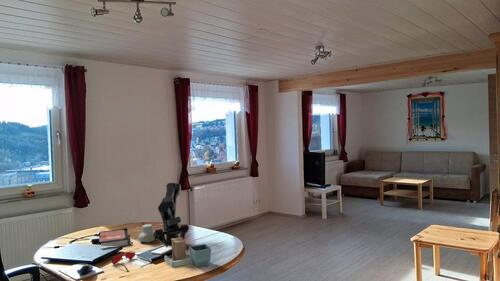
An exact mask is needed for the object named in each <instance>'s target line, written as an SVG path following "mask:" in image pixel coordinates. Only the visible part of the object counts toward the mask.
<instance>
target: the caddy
mask: <svg viewBox="0 0 500 281" xmlns="http://www.w3.org/2000/svg"><path fill="white" fill-rule="evenodd" d="M171 240H172V245H171V259H172V260H173V261H177V260H182V259H186V252H187V249H186V248H187V247H186V246H187V245H186V239H185V240H184V239H183V238H181V237H180V236H179V238H173V239H171Z"/></svg>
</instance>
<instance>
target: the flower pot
mask: <svg viewBox="0 0 500 281" xmlns="http://www.w3.org/2000/svg"><path fill="white" fill-rule="evenodd" d="M188 248H189V254H190V255H191V258H192V261H193V262H194V263H193V264H194V265H195V266H196V268H200V267H205V266H208V264H210V262H211V257H212V256H211V255H212V248H211V247H210V246H209V245H207V243H202V244H198V245H191V246H189V247H188Z"/></svg>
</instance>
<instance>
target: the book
mask: <svg viewBox="0 0 500 281" xmlns="http://www.w3.org/2000/svg"><path fill="white" fill-rule="evenodd" d="M128 232H129V231H128V227H123V228H119V229H110V230H101V231H100V232H99V236H98V243H99V242H100V243H101V246H120V247H125V246H131V237H130V236H129V233H128ZM100 243H99V244H100Z"/></svg>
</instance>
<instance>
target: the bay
mask: <svg viewBox="0 0 500 281" xmlns="http://www.w3.org/2000/svg"><path fill="white" fill-rule="evenodd" d="M164 262H166V264H168V265H169V266H170V267H171V268H176V267H179V266H184V265H188V264H192V263H193V264H194V262H193V261H192V258H191V255H190V252H188V251H186V259H182V260H177V261H173V260H172V258H170V257H169V256H168V255H164Z"/></svg>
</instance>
